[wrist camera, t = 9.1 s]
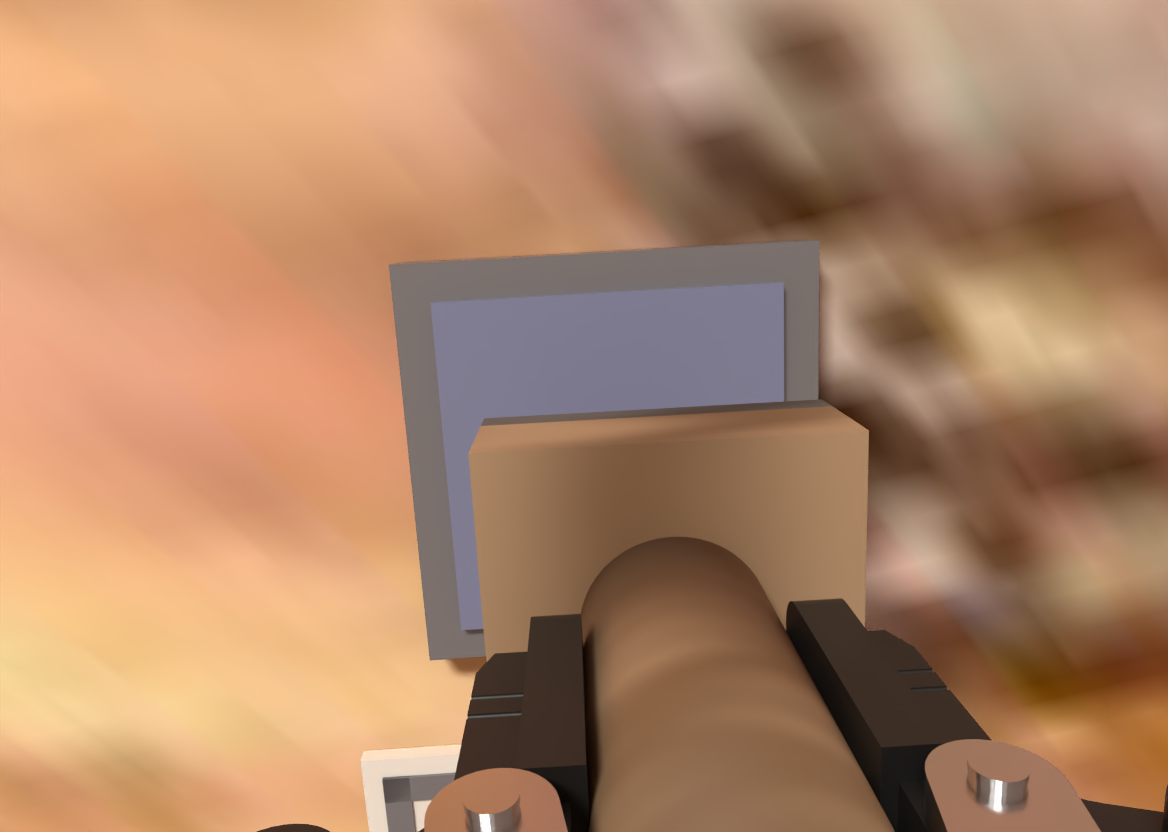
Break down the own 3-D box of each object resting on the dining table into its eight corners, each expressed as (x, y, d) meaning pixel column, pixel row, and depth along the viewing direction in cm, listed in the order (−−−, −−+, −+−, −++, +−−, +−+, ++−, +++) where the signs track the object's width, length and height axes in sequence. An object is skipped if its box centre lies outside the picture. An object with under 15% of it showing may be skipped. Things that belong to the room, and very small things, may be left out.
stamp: (821, 399, 15) (1246, 682, 6) (819, 704, 16) (1161, 1348, 7) (484, 418, 15) (343, 735, 6) (508, 722, 16) (427, 1394, 7)
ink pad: (805, 239, 23) (822, 240, 21) (804, 615, 25) (820, 639, 24) (397, 262, 23) (386, 265, 21) (435, 639, 25) (428, 665, 23)
